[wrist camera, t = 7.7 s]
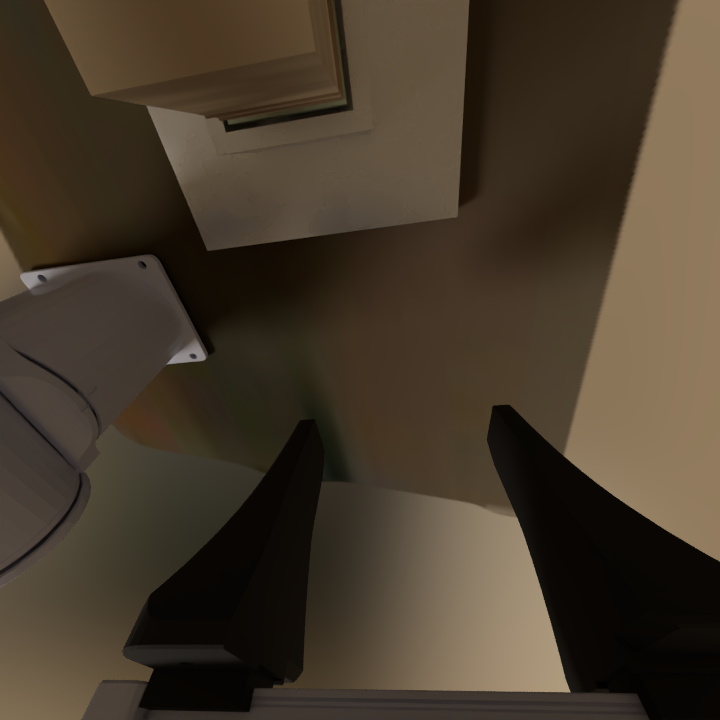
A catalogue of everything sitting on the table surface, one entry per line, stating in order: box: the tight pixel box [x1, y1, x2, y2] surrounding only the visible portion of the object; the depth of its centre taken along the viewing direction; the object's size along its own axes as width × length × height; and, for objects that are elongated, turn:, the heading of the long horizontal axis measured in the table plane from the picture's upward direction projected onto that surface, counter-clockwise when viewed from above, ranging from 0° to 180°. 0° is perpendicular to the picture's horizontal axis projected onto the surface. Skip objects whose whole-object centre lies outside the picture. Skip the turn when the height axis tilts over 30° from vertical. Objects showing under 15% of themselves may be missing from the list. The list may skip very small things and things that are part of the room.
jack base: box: [146, 0, 469, 251], centre depth 11 cm, size 14×14×6 cm
